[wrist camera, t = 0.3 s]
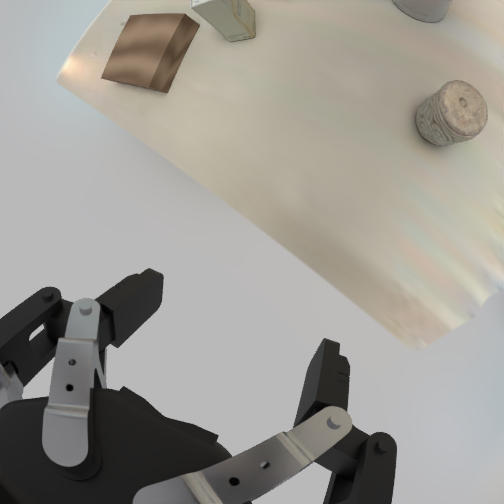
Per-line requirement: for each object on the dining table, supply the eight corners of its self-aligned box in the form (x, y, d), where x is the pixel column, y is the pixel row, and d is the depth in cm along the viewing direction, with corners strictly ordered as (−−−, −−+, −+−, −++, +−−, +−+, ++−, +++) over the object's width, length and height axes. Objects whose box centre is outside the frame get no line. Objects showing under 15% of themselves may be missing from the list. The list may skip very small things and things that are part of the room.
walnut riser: (146, 23, 36) (130, 15, 32) (199, 25, 34) (184, 13, 29) (118, 82, 42) (100, 78, 37) (167, 93, 39) (148, 86, 35)
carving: (404, 132, 30) (428, 112, 19) (424, 91, 27) (451, 59, 16) (441, 159, 29) (478, 153, 18) (461, 118, 26) (499, 98, 15)
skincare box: (255, 38, 32) (222, -1, 21) (228, 42, 34) (189, 9, 23) (254, 9, 30) (223, -31, 19) (229, 15, 32) (192, -21, 21)
